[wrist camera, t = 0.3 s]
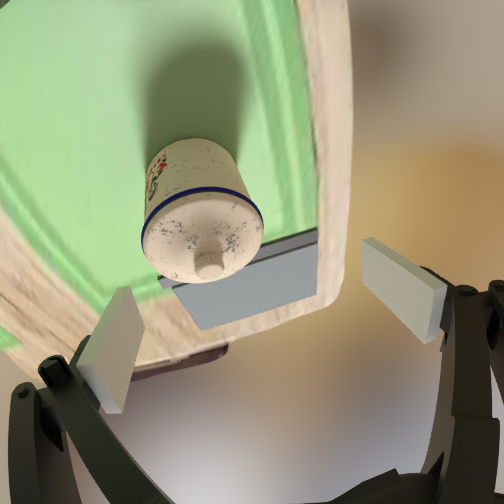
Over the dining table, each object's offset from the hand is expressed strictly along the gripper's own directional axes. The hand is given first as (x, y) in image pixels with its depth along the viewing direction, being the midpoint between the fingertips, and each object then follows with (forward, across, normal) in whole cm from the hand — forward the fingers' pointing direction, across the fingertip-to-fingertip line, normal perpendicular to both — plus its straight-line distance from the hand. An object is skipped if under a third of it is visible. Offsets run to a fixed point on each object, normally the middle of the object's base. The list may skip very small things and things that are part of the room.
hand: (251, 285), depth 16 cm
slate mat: (+24, +1, -13) cm, 28 cm away
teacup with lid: (+15, -4, +4) cm, 16 cm away
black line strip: (+20, 0, -6) cm, 21 cm away
